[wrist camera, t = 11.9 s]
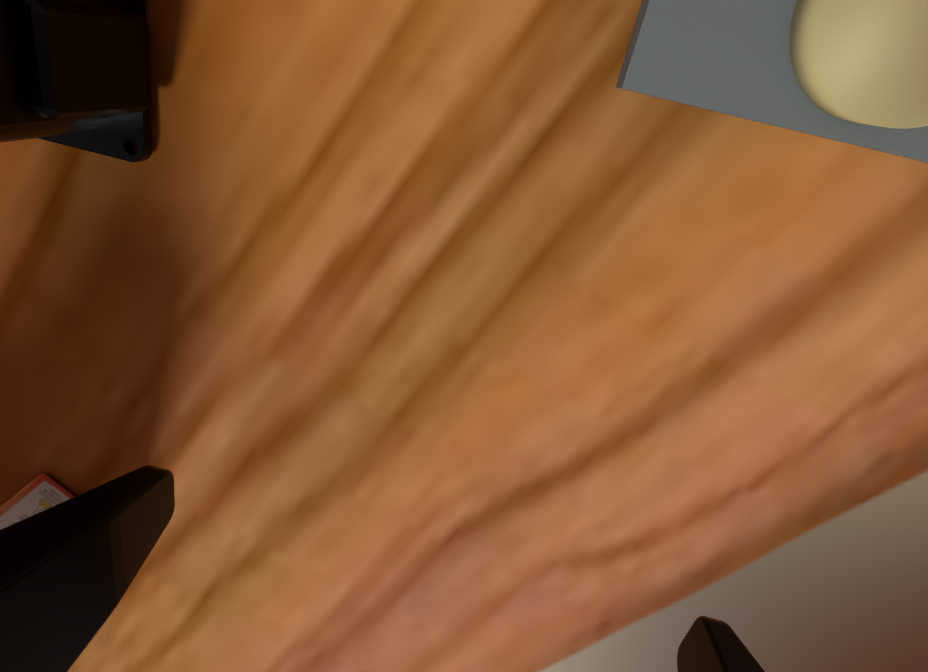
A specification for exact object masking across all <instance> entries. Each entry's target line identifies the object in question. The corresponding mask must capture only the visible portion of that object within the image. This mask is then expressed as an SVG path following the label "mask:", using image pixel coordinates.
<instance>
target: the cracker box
mask: <svg viewBox="0 0 928 672" xmlns="http://www.w3.org/2000/svg"><path fill="white" fill-rule="evenodd" d="M73 497H74V496H73V495H72V494H71V493H69V492H68V491H67V490H66V489H64V488H63V487H62V486H60V485H59V484H58V483H57V482H55V481H54V480H53V479H51V478H50V477H49V476H47V475H46V474H44V473H42V474H40V475H39V476H37V477H36V478H35V479H34V480H32V481H31V482H30V483H29V484H28V485H26V486H25V487H24V488H23V489H21V490H20V491H19V492H18V493H17V494H15V495H14V496H13V497H12V498H10V499H9V500H8V501H7V502H6V503H4V504H3V505H2V506H1V507H0V530H1V529H3V528H5V527H8V526H10V525H12V524H14V523H17V522H19V521H21V520H23V519H26V518H28V517H30V516H32V515H35V514H37V513H39V512H41V511H44V510H46V509H48V508H50V507H53V506H55V505H57V504H60V503H62V502H64V501H66V500H69V499H71V498H73Z"/></svg>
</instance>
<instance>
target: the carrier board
mask: <svg viewBox="0 0 928 672" xmlns="http://www.w3.org/2000/svg"><path fill="white" fill-rule="evenodd" d="M616 87H617V88H621V89H625V90H630V91H634V92H638V93H642V94H646V95H650V96H654V97H659V98H663V99H667V100H671V101H675V102H679V103H683V104H688V105H692V106H696V107H700V108H704V109H708V110H712V111H716V112H721V113H725V114H729V115H733V116H737V117H741V118H745V119H750V120H754V121H758V122H762V123H766V124H770V125H774V126H779V127H783V128H787V129H791V130H795V131H799V132H803V133H807V134H812V135H816V136H820V137H824V138H828V139H832V140H836V141H841V142H845V143H849V144H853V145H857V146H861V147H865V148H870V149H874V150H878V151H882V152H886V153H890V154H894V155H898V156H903V157H907V158H911V159H915V160H919V161H923V162H927V163H928V0H643V2H642V5H641V8H640V11H639V14H638V18H637V21H636V24H635V27H634V30H633V34H632V37H631V40H630V43H629V47H628V50H627V53H626V56H625V59H624V63H623V66H622V69H621V72H620V75H619V79H618V82H617V85H616Z"/></svg>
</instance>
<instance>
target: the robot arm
mask: <svg viewBox="0 0 928 672" xmlns="http://www.w3.org/2000/svg"><path fill="white" fill-rule="evenodd" d="M150 106H151V81H150V59H149V36H148V24H147V23H146V5H145V0H0V142H8V141H16V140H24V139H32V138H39V139H43V140H47V141H51V142H55V143H59V144H63V145H67V146H71V147H75V148H79V149H83V150H87V151H91V152H94V153H98V154H102V155H106V156H110V157H114V158H118V159H122V160H126V161H130V162H139V161H144V160H146V159H148V158H149V157H150V155H151V152H152V138H151V116H150ZM132 141H134V142H135V143H136V145H137V148H138V150H137V152H135V151H134V149H133V148H132V145H131V143H132ZM174 507H175V499H174V477H173V474H172V472H171V471H169V470H167V469H163V468H159V467H155V466H151V465H148V466H144V467H141V468H139V469H136V470H134V471H132V472H130V473H127V474H125V475H123V476H121V477H118V478H116V479H114V480H111V481H109V482H107V483H105V484H102V485H100V486H98V487H96V488H93V489H91V490H89V491H87V492H84V493H82V494H80V495H78V496H75V497H73V498H71V499H69V500H66V501H64V502H62V503H60V504H57V505H55V506H53V507H50V508H48V509H46V510H44V511H41V512H39V513H37V514H35V515H32V516H30V517H28V518H26V519H23V520H21V521H19V522H17V523H14V524H12V525H10V526H8V527H5V528H3V529H1V530H0V672H67V671H68V670H69V669H70V667H71V666H72V665H73V663H74V662H75V661H76V659H77V658H78V657H79V655H80V654H81V653H82V651H83V650H84V649H85V648H86V646H87V645H88V644H89V642H90V641H91V640H92V638H93V637H94V636H95V634H96V633H97V632H98V630H99V629H100V628H101V626H102V625H103V624H104V623H105V621H106V620H107V619H108V617H109V616H110V614H111V613H112V612H113V610H114V609H115V608H116V606H117V605H118V603H119V602H120V600H121V599H122V597H123V596H124V594H125V592H126V591H127V589H128V588H129V586H130V584H131V583H132V581H133V580H134V578H135V576H136V575H137V573H138V571H139V570H140V568H141V567H142V565H143V563H144V562H145V560H146V559H147V557H148V555H149V554H150V552H151V550H152V549H153V547H154V546H155V544H156V542H157V541H158V539H159V537H160V536H161V534H162V533H163V531H164V529H165V528H166V526H167V524H168V523H169V521H170V519H171V517H172V515H173V512H174ZM677 655H678V656H677V667H678V672H764V670H763V669H762V668H761V666H760V665H759V664H758V662H757V661H756V660H755V658H754V657H753V656H752V655H751V653H750V652H749V651H748V649H747V648H746V647H745V645H744V644H743V643H742V642H741V640H740V639H739V638H738V636H737V635H736V634H735V632H734V631H733V630H732V629H731V628H730V626H729V625H728V624H726V623H725V622H723V621H721V620H717V619H714V618H710V617H706V616H700V617H698V618H697V619H696V620H695V622H694V623H693V625H692V626H691V628H690V630H689V631H688V633H687V634H686V636H685V638H684V639H683V641H682V642H681V644H680V646H679V649H678V654H677Z"/></svg>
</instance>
